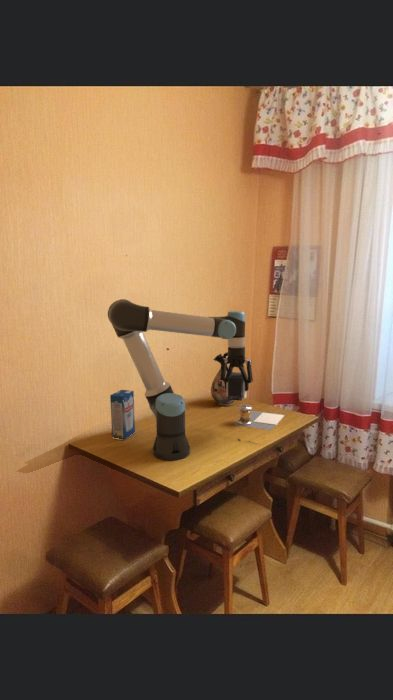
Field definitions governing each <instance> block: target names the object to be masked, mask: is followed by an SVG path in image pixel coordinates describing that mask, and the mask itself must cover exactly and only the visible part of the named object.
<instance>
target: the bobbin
mask: <svg viewBox="0 0 393 700" xmlns="http://www.w3.org/2000/svg"><path fill="white" fill-rule="evenodd" d="M237 410H239V411H238V412H239V415H238V417H239V418H238V419H239V420H238V419H237V420H238V424H240V425H251V424H252V420H250V410H251V411H253V406H252V405H251V404H238V405H237Z"/></svg>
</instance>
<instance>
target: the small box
mask: <svg viewBox="0 0 393 700" xmlns="http://www.w3.org/2000/svg"><path fill="white" fill-rule="evenodd" d="M243 384H244V380H243V376H242V374H241V372H236V371H232V372H231V374H230V375H229V377H228V400H234V401H237V402H238V401H242V400H243V399H244V398H243Z"/></svg>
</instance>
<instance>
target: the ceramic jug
mask: <svg viewBox="0 0 393 700" xmlns="http://www.w3.org/2000/svg"><path fill="white" fill-rule="evenodd" d="M227 357H228V351H227V352H224V354H221V353H219V354H218V355H216V356H215V357H214V358H213V361H215V362H218V363H219V364H220V369H218V372H216V375H215V376H214V377H213V381H212V382H211V388H210V394H211V398H212V399H213V400H214V401H215V403H216V405H218V406H221V407H228V406H233V405H234V402H235V400H228V397H227V396H226V389H225V382H224V381H223V380H221V379H220V378H221V370H222V361H221V360H222V359H223V358H227ZM228 364H229V365H230V363H229V362H228V361H227V365H226V374H227V371H228V369H229V366H228ZM226 374H225V377H226Z"/></svg>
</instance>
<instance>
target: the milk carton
mask: <svg viewBox="0 0 393 700" xmlns="http://www.w3.org/2000/svg"><path fill="white" fill-rule="evenodd" d="M109 398H110V418H111V422H110V423H111V438H112V437H114V438H119V439H126V438H127V437H129V436H130V435H131V434H133V433H134V432H135V433H136V420H135V395H134V390H129V389H120V390H118V391H116V392H114V393H112V394H110V395H109ZM135 433H134V434H135ZM134 434H133V435H134ZM131 436H132V435H131ZM131 436H130V437H131ZM130 437H129V438H130ZM127 439H128V438H127ZM127 439H126V440H127Z"/></svg>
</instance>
